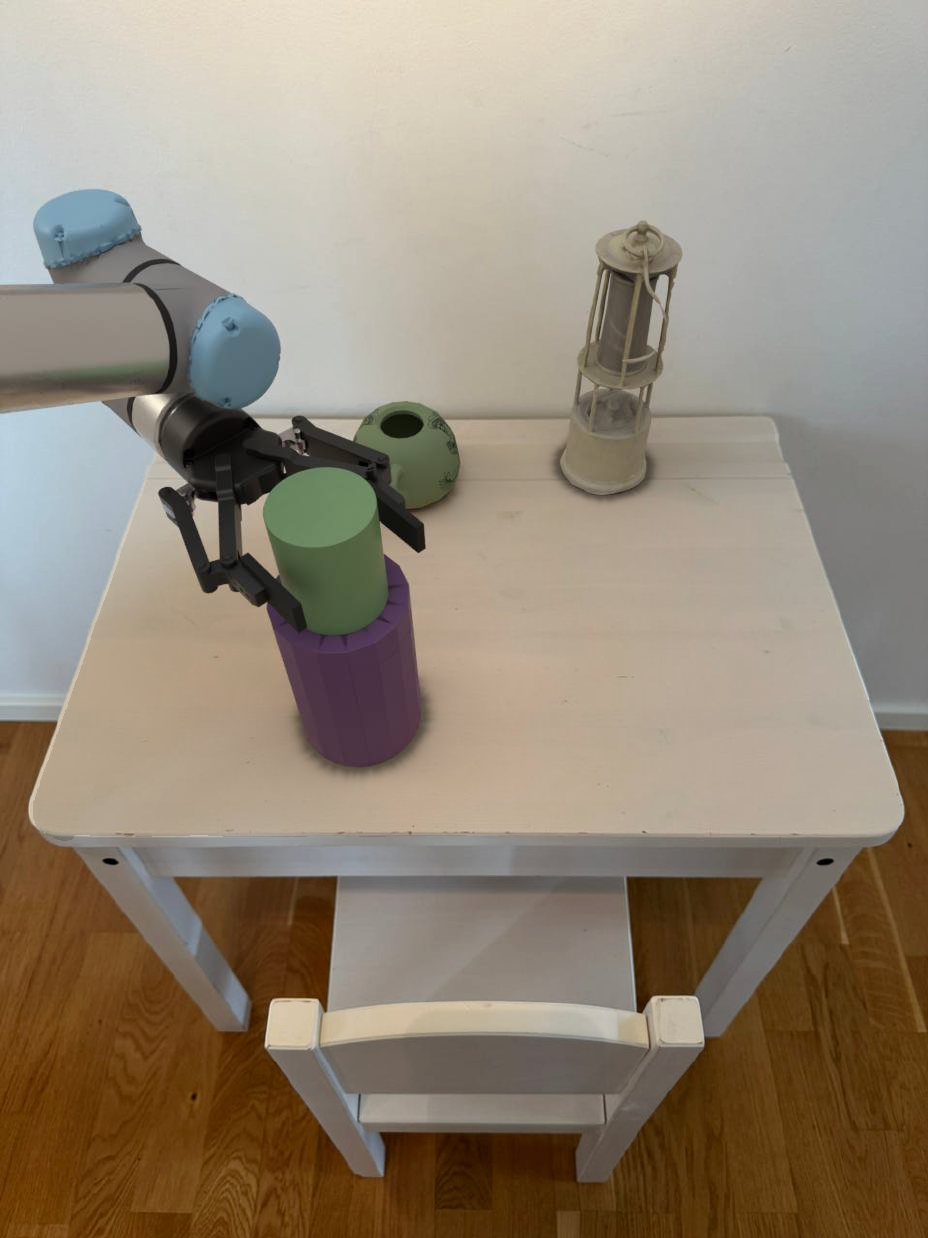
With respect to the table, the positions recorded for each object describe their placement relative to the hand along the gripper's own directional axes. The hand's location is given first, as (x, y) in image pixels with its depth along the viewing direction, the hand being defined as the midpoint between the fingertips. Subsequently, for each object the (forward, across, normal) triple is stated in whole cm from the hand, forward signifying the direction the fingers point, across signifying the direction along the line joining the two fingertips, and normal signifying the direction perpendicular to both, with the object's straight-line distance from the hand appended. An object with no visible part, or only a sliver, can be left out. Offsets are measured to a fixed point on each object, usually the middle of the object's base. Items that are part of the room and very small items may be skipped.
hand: (362, 577), depth 62 cm
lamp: (-11, -42, -24) cm, 50 cm away
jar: (-4, 0, -24) cm, 24 cm away
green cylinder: (-4, 0, -6) cm, 7 cm away
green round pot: (-25, -23, -24) cm, 42 cm away
